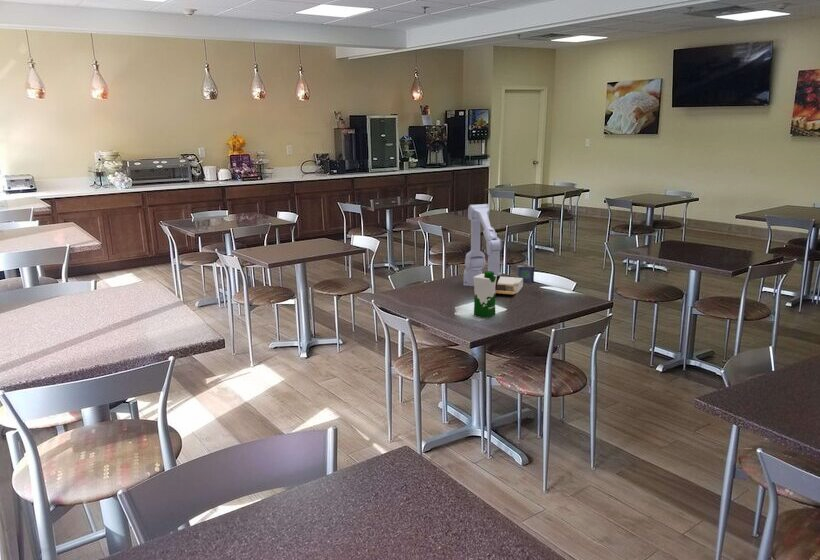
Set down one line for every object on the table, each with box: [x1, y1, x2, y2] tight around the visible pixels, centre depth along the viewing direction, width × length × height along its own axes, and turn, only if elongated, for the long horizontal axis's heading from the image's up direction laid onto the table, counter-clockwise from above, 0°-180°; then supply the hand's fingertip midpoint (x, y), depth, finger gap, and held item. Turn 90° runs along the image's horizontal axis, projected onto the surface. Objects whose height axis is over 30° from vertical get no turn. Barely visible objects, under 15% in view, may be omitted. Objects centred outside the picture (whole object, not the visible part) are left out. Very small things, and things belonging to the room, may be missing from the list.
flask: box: [516, 262, 535, 284], centre depth 322 cm, size 9×3×11 cm, turn 76°
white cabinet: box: [496, 275, 524, 294], centre depth 310 cm, size 20×14×5 cm
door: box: [495, 290, 517, 295], centre depth 299 cm, size 19×1×8 cm
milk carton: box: [473, 270, 497, 319], centre depth 267 cm, size 9×9×20 cm
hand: (493, 290), depth 295 cm, fingers closed
